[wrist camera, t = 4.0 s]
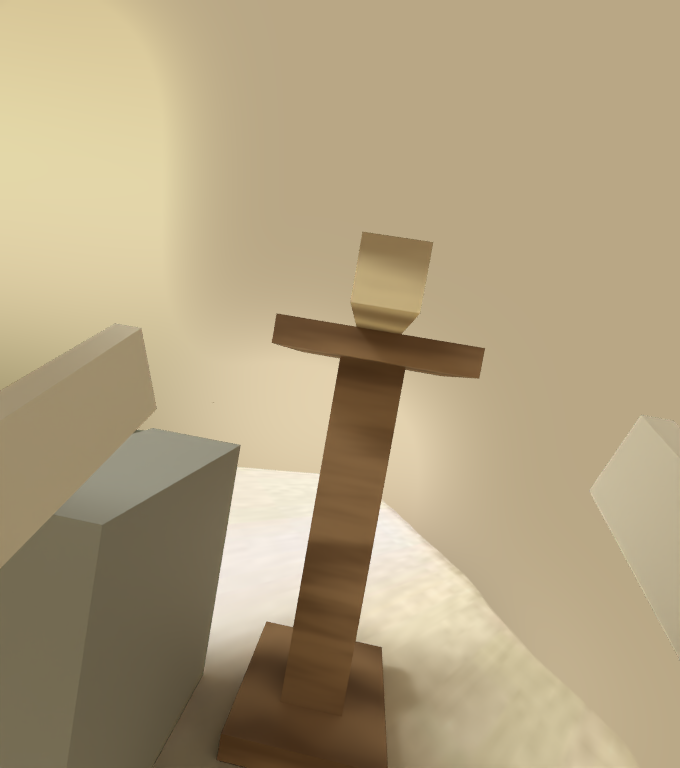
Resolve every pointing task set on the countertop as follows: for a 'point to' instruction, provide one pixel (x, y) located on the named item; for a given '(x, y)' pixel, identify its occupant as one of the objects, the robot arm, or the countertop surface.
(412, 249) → the birch bar
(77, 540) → the slate block
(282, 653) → the walnut stand
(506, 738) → the countertop surface
